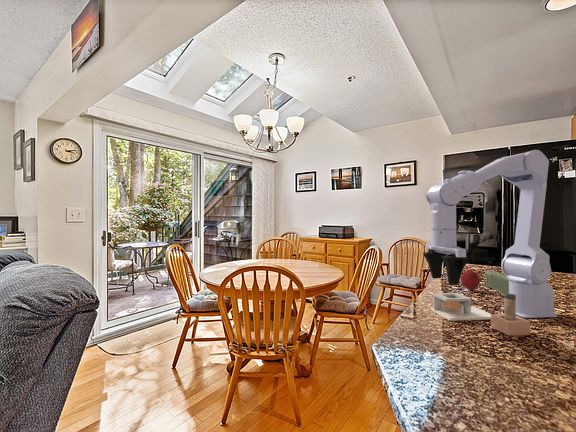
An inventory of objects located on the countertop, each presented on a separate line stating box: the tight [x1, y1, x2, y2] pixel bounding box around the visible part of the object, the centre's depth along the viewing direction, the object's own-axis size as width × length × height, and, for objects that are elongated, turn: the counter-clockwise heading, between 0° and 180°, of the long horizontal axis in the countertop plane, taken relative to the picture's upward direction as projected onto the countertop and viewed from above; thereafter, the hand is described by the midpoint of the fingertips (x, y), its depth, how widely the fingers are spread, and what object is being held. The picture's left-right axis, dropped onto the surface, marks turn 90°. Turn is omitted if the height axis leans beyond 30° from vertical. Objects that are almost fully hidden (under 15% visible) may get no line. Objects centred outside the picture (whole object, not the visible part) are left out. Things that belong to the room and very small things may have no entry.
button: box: [444, 301, 460, 309], centre depth 80 cm, size 3×3×2 cm
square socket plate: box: [429, 292, 493, 322], centre depth 81 cm, size 13×9×5 cm
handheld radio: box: [484, 269, 509, 296], centre depth 99 cm, size 7×3×25 cm
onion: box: [460, 267, 481, 291], centre depth 106 cm, size 6×6×8 cm
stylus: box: [503, 293, 517, 321], centre depth 69 cm, size 2×2×8 cm
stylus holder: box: [490, 313, 531, 337], centre depth 69 cm, size 5×5×3 cm
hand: (444, 281), depth 77 cm, fingers open, 7 cm apart
